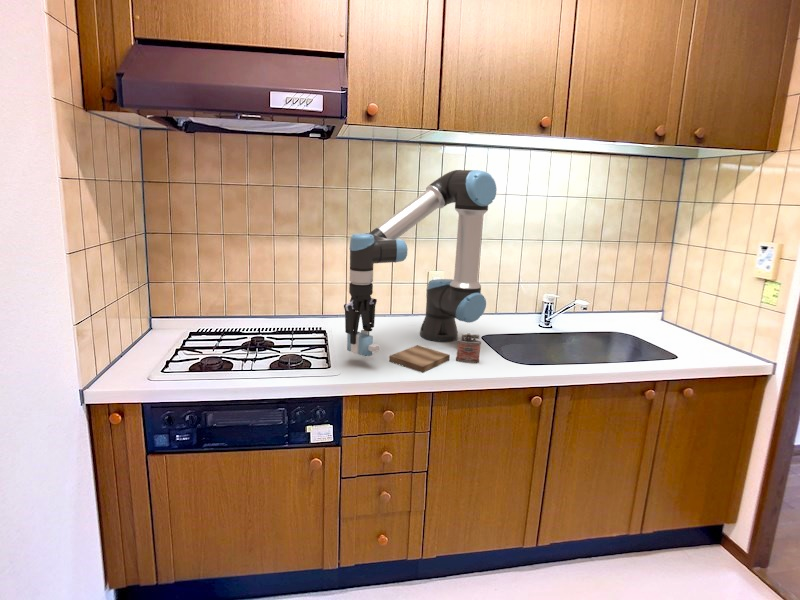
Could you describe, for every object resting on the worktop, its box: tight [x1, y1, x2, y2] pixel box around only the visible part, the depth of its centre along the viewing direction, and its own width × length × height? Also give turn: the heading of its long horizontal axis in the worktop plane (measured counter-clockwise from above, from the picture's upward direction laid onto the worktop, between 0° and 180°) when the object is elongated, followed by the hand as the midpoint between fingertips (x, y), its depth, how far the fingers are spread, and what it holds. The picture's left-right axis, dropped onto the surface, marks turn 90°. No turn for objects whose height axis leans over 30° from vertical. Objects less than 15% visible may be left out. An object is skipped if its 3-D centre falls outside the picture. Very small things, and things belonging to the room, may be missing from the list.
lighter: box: [455, 332, 482, 364], centre depth 173 cm, size 8×3×10 cm, turn 82°
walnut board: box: [389, 344, 451, 373], centre depth 172 cm, size 16×14×2 cm
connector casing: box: [346, 331, 380, 357], centre depth 164 cm, size 4×12×6 cm, turn 52°
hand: (359, 350), depth 166 cm, fingers closed on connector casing, 4 cm apart
